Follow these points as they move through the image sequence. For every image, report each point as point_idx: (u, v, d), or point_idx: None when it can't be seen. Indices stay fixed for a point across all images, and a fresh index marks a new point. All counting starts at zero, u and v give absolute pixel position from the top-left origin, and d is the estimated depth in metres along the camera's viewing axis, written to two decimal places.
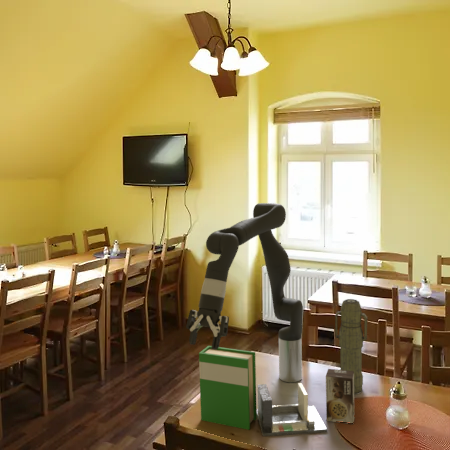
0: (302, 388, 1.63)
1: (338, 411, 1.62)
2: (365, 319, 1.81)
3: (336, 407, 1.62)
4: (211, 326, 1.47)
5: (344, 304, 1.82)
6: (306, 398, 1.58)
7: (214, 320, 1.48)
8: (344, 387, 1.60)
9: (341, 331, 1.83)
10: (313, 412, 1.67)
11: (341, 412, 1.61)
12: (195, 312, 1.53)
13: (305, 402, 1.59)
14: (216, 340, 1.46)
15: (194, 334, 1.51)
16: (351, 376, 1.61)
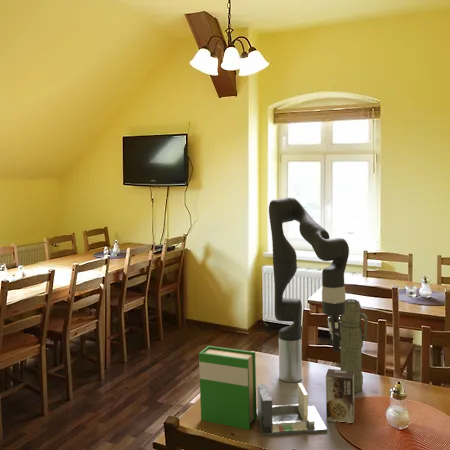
0: (302, 388, 1.63)
1: (338, 411, 1.62)
2: (365, 319, 1.81)
3: (336, 407, 1.62)
4: None
5: None
6: (306, 398, 1.58)
7: None
8: (344, 387, 1.60)
9: (341, 331, 1.83)
10: (313, 412, 1.67)
11: (341, 412, 1.61)
12: None
13: (305, 402, 1.59)
14: None
15: None
16: (351, 376, 1.61)
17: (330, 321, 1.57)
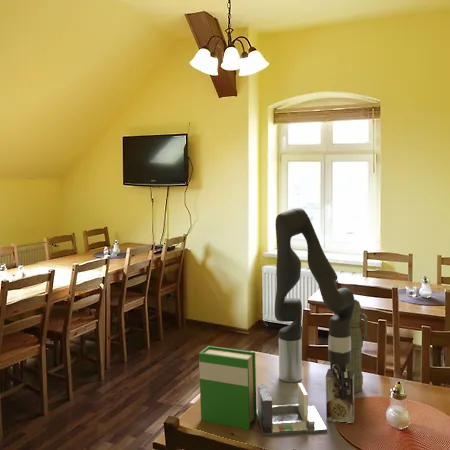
0: (302, 388, 1.63)
1: (338, 411, 1.62)
2: (365, 319, 1.81)
3: (336, 407, 1.62)
4: None
5: None
6: (306, 398, 1.58)
7: None
8: None
9: None
10: (313, 412, 1.67)
11: (341, 412, 1.61)
12: None
13: (305, 402, 1.59)
14: None
15: None
16: (351, 376, 1.61)
17: (337, 369, 1.61)
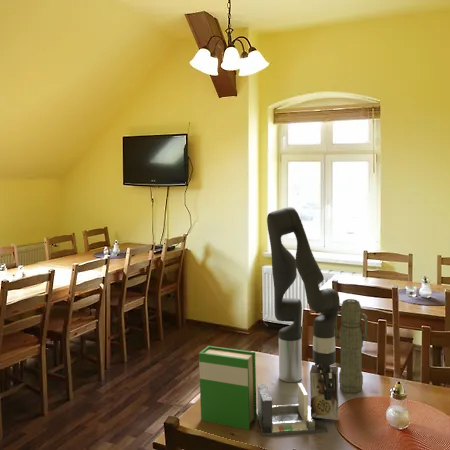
0: (302, 388, 1.63)
1: (322, 407, 1.61)
2: (365, 319, 1.81)
3: (320, 403, 1.61)
4: None
5: (344, 304, 1.82)
6: (306, 398, 1.58)
7: None
8: None
9: (341, 331, 1.83)
10: None
11: (325, 408, 1.61)
12: None
13: (305, 402, 1.59)
14: None
15: None
16: (335, 372, 1.60)
17: (321, 370, 1.61)
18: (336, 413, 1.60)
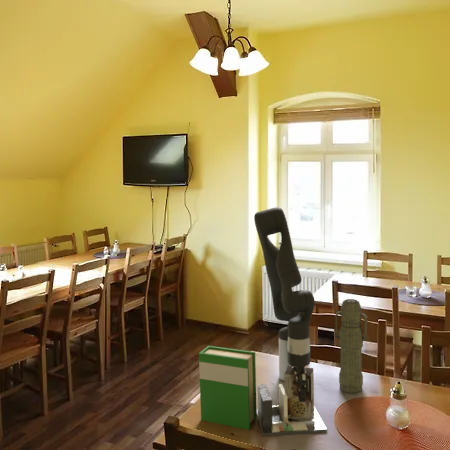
0: (282, 389, 1.62)
1: (297, 409, 1.61)
2: (365, 319, 1.81)
3: (295, 405, 1.61)
4: None
5: (344, 304, 1.82)
6: (285, 399, 1.58)
7: None
8: None
9: (341, 331, 1.83)
10: None
11: (300, 409, 1.60)
12: None
13: (285, 403, 1.58)
14: None
15: None
16: (310, 373, 1.60)
17: (296, 371, 1.60)
18: (311, 415, 1.59)
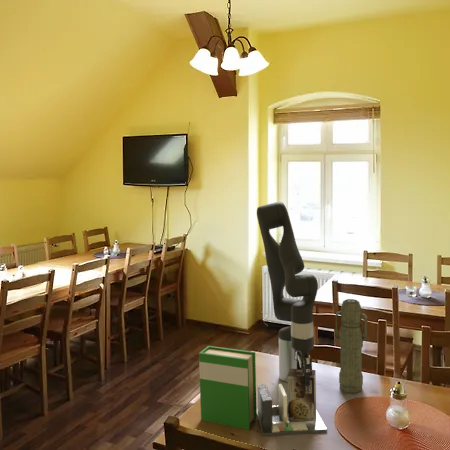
0: (282, 389, 1.62)
1: (300, 411, 1.60)
2: (365, 319, 1.81)
3: (298, 407, 1.60)
4: None
5: (344, 304, 1.82)
6: (285, 399, 1.58)
7: None
8: (305, 386, 1.59)
9: (341, 331, 1.83)
10: None
11: (303, 411, 1.60)
12: None
13: (284, 403, 1.58)
14: None
15: None
16: (312, 375, 1.60)
17: (299, 356, 1.59)
18: (314, 417, 1.60)
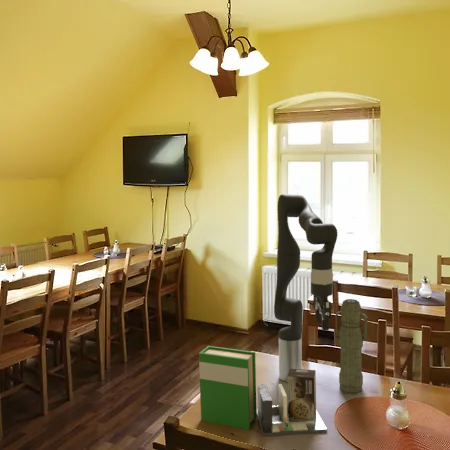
0: (282, 389, 1.62)
1: (300, 411, 1.60)
2: (365, 319, 1.81)
3: (298, 407, 1.60)
4: None
5: (344, 304, 1.82)
6: (285, 399, 1.58)
7: None
8: (305, 386, 1.59)
9: (341, 331, 1.83)
10: None
11: (303, 412, 1.60)
12: None
13: (284, 403, 1.58)
14: None
15: None
16: (312, 375, 1.60)
17: (319, 301, 1.66)
18: (314, 417, 1.60)
